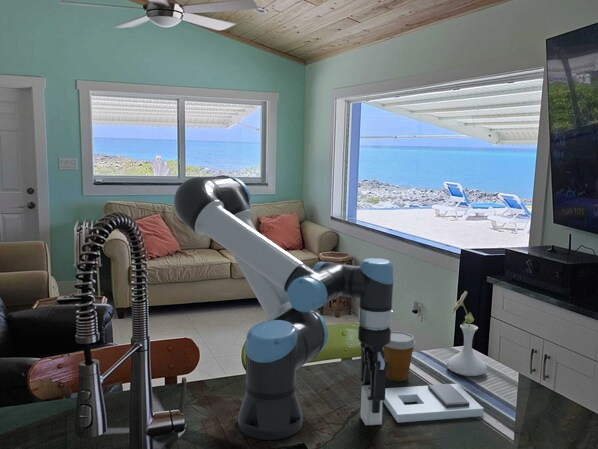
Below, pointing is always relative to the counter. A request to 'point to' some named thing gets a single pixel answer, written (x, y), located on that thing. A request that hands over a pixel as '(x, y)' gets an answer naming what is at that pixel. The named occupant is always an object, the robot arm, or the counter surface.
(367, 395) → the block
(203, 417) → the counter surface
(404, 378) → the disposable coffee cup
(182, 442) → the counter surface
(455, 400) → the phone
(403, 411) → the outlet board
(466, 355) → the flower in vase
